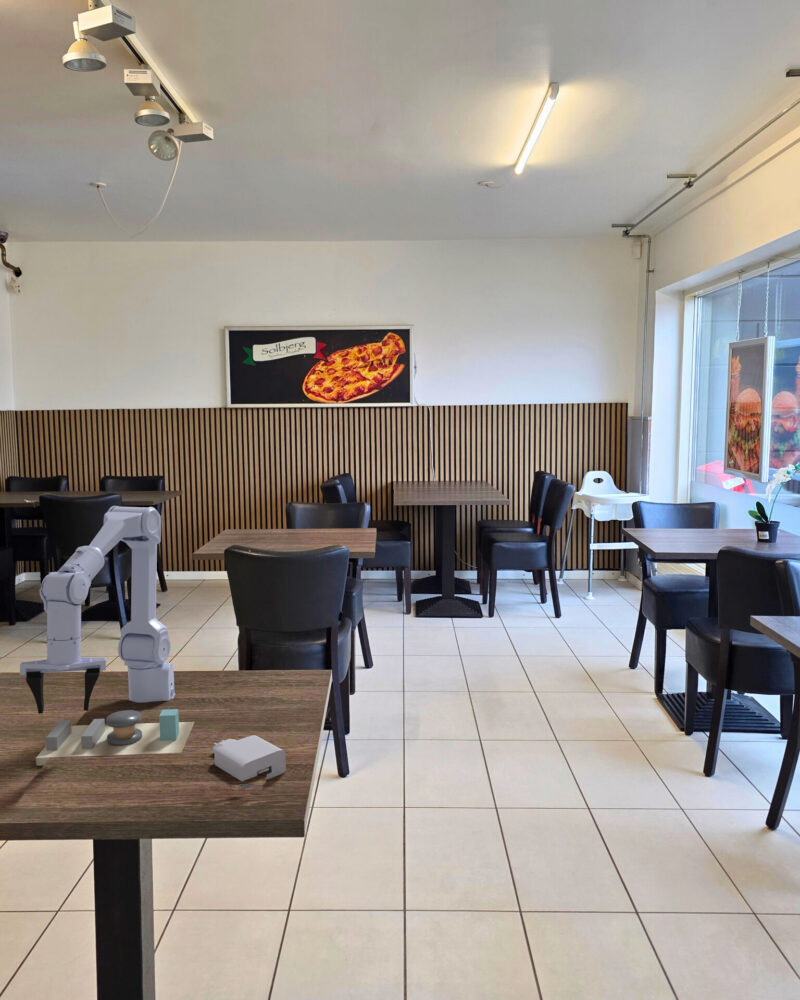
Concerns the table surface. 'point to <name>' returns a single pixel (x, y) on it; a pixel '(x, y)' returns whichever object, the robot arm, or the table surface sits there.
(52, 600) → the robot arm
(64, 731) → the gray parallel rails
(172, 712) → the peg
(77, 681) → the table surface
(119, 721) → the bobbin
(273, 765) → the charger
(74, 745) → the board
